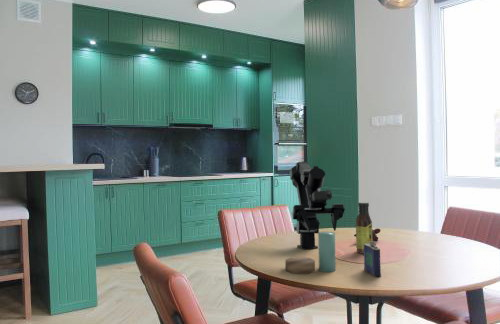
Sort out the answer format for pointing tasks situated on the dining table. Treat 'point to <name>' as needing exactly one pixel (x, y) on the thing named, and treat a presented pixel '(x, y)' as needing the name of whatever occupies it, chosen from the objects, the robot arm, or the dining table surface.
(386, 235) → the dining table surface
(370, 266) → the flask
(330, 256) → the teal upright cylinder
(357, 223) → the sauce bottle
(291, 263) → the stand
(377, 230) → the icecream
